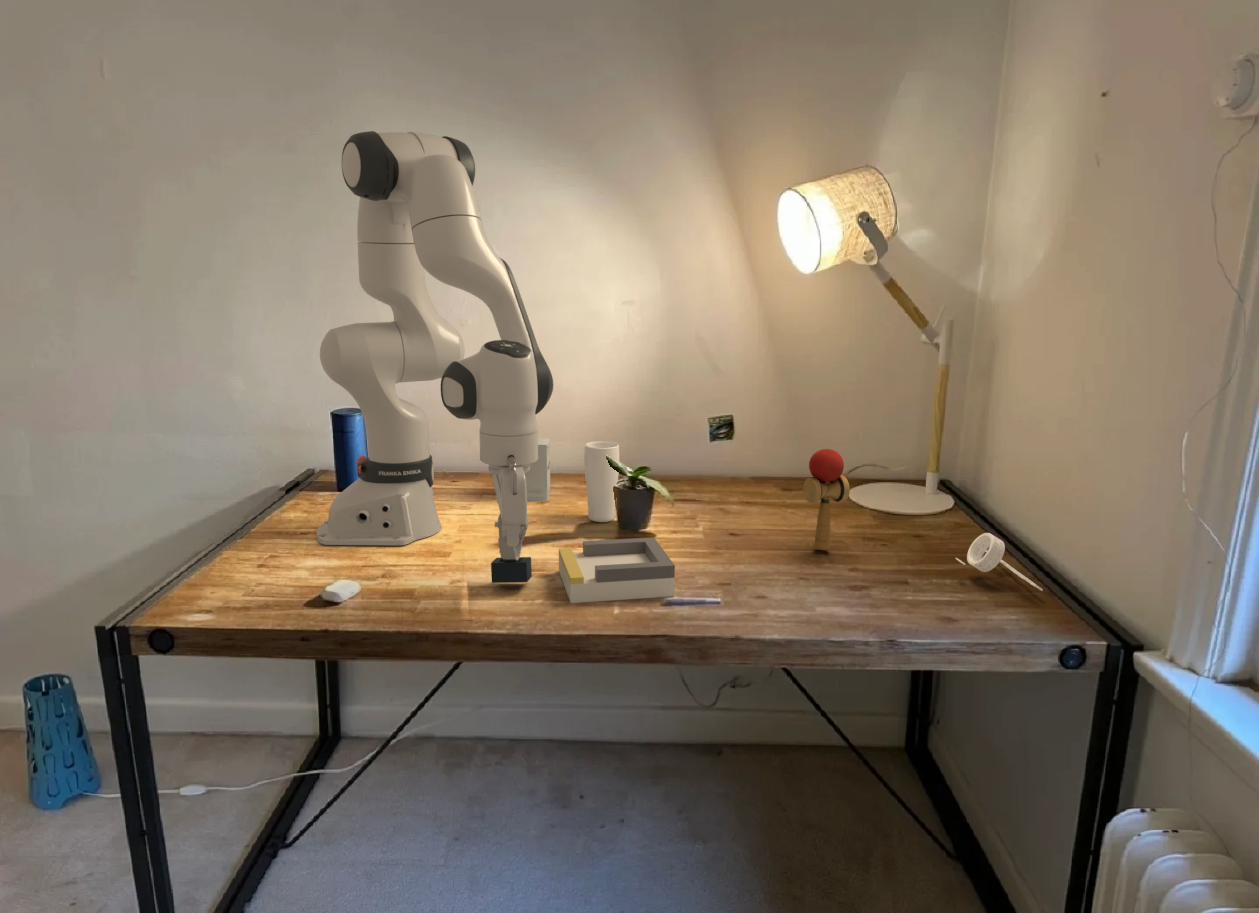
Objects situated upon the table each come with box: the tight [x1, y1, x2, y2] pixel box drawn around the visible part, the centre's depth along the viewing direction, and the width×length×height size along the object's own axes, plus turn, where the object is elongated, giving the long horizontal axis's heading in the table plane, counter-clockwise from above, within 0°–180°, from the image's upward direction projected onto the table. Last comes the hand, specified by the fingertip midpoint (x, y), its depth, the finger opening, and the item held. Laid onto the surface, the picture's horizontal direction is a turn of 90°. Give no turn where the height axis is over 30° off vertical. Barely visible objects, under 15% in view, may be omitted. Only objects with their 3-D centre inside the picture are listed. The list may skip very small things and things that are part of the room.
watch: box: [490, 513, 533, 584], centre depth 143 cm, size 6×8×11 cm
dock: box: [558, 536, 676, 604], centre depth 145 cm, size 16×14×5 cm
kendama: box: [802, 448, 851, 551], centre depth 162 cm, size 8×6×18 cm
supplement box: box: [525, 437, 551, 503], centre depth 192 cm, size 7×7×13 cm
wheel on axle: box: [955, 532, 1044, 592], centre depth 151 cm, size 18×10×6 cm
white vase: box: [583, 440, 620, 523], centre depth 178 cm, size 7×7×15 cm
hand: (510, 535), depth 143 cm, fingers open, 8 cm apart
